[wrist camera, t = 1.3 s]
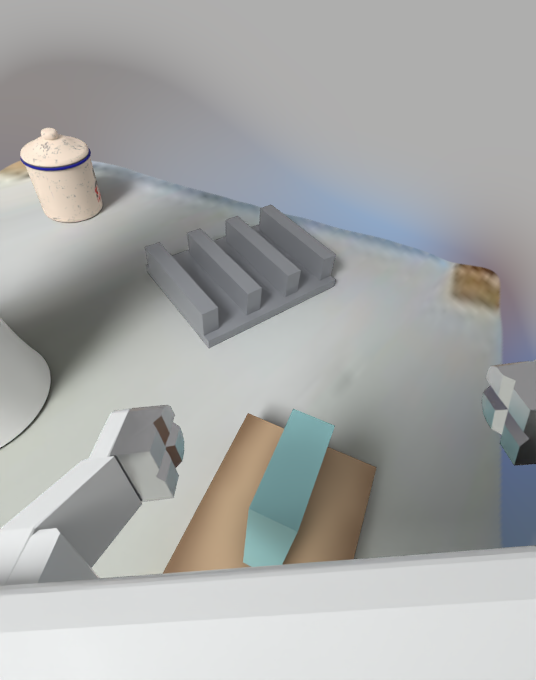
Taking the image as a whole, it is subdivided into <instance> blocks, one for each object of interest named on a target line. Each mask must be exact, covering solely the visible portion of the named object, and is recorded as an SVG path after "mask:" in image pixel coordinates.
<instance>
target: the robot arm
mask: <svg viewBox="0 0 536 680" xmlns="http://www.w3.org/2000/svg"><path fill="white" fill-rule="evenodd" d="M486 380H487V381H488V383H489V384H490V386H489V387H488V388H487V389H486V390H485V391H484V392H483V396H482V408H483V414H484V416H485V419H486V421H487V423H488V424H489V426H490V428H491V429H492V430H494V431H496V432H497V433H499V434H501V435H502V437H501V441H500V444H501V446H502V447H503V449H504V450H505V452H506V453H507V455H508V457H509V458H510V460H511V461H512V463H513V464H514V465H528V464H536V360H534V361H525V362H517V363H509V364H501V365H493V366H490V367H489V369H488V370H487V375H486ZM50 382H51V376H50V370H49V367H48V365H47V363H46V361H45V360H44V358H43V357H42V356H41V355H40V354H39V353H38V352H36V351H35V350H34V349H32V348H31V347H30V346H29V345H27V344H26V343H25V342H24V341H23V340H22V339H20V338H19V337H18V336H17V335H16V334H15V333H14V332H13V331H12V330H11V328H10V327H9V326H8V325H7V324H6V323H5V322H4V321H3V320H2V319H1V318H0V448H1V447H2V446H4V445H5V444H7V443H8V442H10V441H11V440H12V439H14V438H15V437H16V436H17V435H19V434H20V433H21V432H22V431H23V430H24V429H25V428H26V427H27V426H28V425H29V424H30V423H31V422H32V421H33V420H34V418H35V417H36V416H37V414H38V413H39V411H40V410H41V408H42V407H43V405H44V403H45V401H46V398H47V396H48V393H49V389H50ZM174 416H175V414H174V412H173V410H172V408H171V406H169V405H160V406H150V407H139V408H132V409H122V410H114V411H113V412H112V413H110V415H109V417H108V419H107V421H106V423H105V425H104V427H103V429H102V431H101V433H100V436H99V438H98V440H97V442H96V444H95V446H94V448H93V450H92V452H91V454H90V456H89V458H88V459H84V460H82V461H80V462H79V463H78V464H77V465H76V466H74V467H73V468H72V469H71V470H70V471H68V472H67V473H66V474H65V475H64V476H62V477H61V478H60V479H59V480H58V481H56V482H55V483H54V484H53V485H52V486H50V487H49V488H48V489H47V490H46V491H44V492H43V493H42V494H41V495H40V496H38V497H37V498H36V499H35V500H34V501H32V502H31V503H30V504H29V505H28V506H26V507H25V508H24V509H23V510H22V511H20V512H19V513H18V514H17V515H16V516H14V517H13V518H12V519H11V520H10V521H8V522H7V523H6V524H5V525H4V526H2V527H1V528H0V680H536V545H535V546H521V547H508V548H494V549H481V550H468V551H455V552H442V553H429V554H416V555H403V556H389V557H376V558H363V559H350V560H337V561H324V562H311V563H298V564H284V565H271V566H258V567H245V568H232V569H218V570H205V571H192V572H179V573H165V574H152V575H139V576H126V577H112V578H99V576H98V575H97V574H96V573H95V572H94V571H93V570H92V567H93V565H94V564H95V563H96V561H97V560H98V559H99V558H100V556H101V555H102V554H103V553H104V551H105V550H106V549H107V548H108V546H109V545H110V544H111V543H112V541H113V540H114V539H115V537H116V536H117V535H118V534H119V532H120V531H121V530H122V529H123V527H124V526H125V525H126V524H127V522H128V521H129V520H130V518H131V517H132V516H133V515H134V513H135V512H136V511H137V510H138V508H139V507H140V506H141V505H142V502H146V501H154V500H162V499H170V498H174V494H175V490H176V485H177V481H178V477H179V475H178V473H177V471H176V467H177V466H178V465H179V464H180V463H181V462H182V459H183V455H184V438H183V434H182V431H181V428H180V427H179V426H178V425H176V424H175V423H173V420H174Z"/></svg>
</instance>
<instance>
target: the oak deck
mask: <svg viewBox="0 0 536 680" xmlns="http://www.w3.org/2000/svg"><path fill="white" fill-rule="evenodd" d="M283 431H284V428H282V427H279V426H277V425H275V424H272V423H270V422H268V421H265V420H263V419H260V418H258V417H256V416H253V415H251V414H249V413H248V414H247V416H246V418H245V420H244V422H243V424H242V426H241V427H240V429H239V431H238V433H237V435H236V437H235V439H234V441H233V442H232V444H231V446H230V448H229V450H228V452H227V454H226V456H225V458H224V459H223V461H222V463H221V465H220V467H219V469H218V471H217V473H216V474H215V476H214V478H213V480H212V482H211V484H210V486H209V488H208V489H207V491H206V493H205V495H204V497H203V499H202V501H201V503H200V504H199V506H198V508H197V510H196V512H195V514H194V516H193V518H192V520H191V521H190V523H189V525H188V527H187V529H186V531H185V533H184V535H183V536H182V538H181V540H180V542H179V544H178V546H177V548H176V550H175V551H174V553H173V555H172V557H171V559H170V561H169V563H168V565H167V566H166V568H165V570H164V572H163V574H165V573H179V572H192V571H205V570H218V569H232V568H245V567H251V566H249V565H247V564H245V563H243V557H244V548H245V539H246V529H247V520H248V511H249V507H250V505H251V502H252V500H253V498H254V496H255V493H256V491H257V489H258V487H259V484H260V482H261V480H262V478H263V475H264V473H265V471H266V469H267V466H268V464H269V462H270V460H271V458H272V455H273V453H274V451H275V449H276V446H277V444H278V442H279V440H280V437H281V435H282V433H283ZM375 471H376V467H375V466H372V465H370V464H367V463H365V462H363V461H360V460H358V459H356V458H353V457H351V456H348V455H346V454H344V453H341V452H339V451H336V450H334V449H332V448H329V447H327V450H326V453H325V455H324V458H323V461H322V464H321V467H320V470H319V473H318V475H317V478H316V481H315V484H314V487H313V490H312V493H311V495H310V498H309V501H308V504H307V507H306V510H305V513H304V515H303V518H302V521H301V524H300V527H299V530H298V532H297V534H296V537H295V539H294V541H293V543H292V545H291V547H290V549H289V551H288V553H287V555H286V557H285V560H284V562H283V564H282V565H284V564H298V563H311V562H324V561H337V560H350V559H354V555H355V551H356V547H357V543H358V539H359V535H360V531H361V527H362V523H363V519H364V515H365V511H366V507H367V503H368V499H369V495H370V491H371V487H372V483H373V479H374V475H375Z"/></svg>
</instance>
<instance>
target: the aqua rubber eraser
mask: <svg viewBox="0 0 536 680" xmlns="http://www.w3.org/2000/svg"><path fill="white" fill-rule="evenodd" d="M334 427H335V426H334V425H332V424H329V423H327V422H324V421H322V420H319V419H317V418H315V417H312V416H310V415H307V414H305V413H302V412H300V411H297V410H295V409H293V410H292V413H291V415H290V417H289V419H288V422H287V424H286V426H285V428H284V431H283V433H282V435H281V437H280V440H279V442H278V444H277V446H276V449H275V451H274V453H273V455H272V458H271V460H270V462H269V464H268V466H267V469H266V471H265V473H264V475H263V478H262V480H261V482H260V484H259V487H258V489H257V491H256V493H255V496H254V498H253V500H252V502H251V505H250V507H249V511H248V520H247V529H246V539H245V548H244V557H243V563H245V564H247V565H249V566H251V567H258V566H271V565H282V564H283V562H284V560H285V557H286V555H287V553H288V551H289V549H290V547H291V545H292V543H293V541H294V539H295V537H296V534H297V532H298V530H299V527H300V524H301V521H302V518H303V515H304V513H305V510H306V507H307V504H308V501H309V498H310V495H311V493H312V490H313V487H314V484H315V481H316V478H317V475H318V473H319V470H320V467H321V464H322V461H323V458H324V455H325V453H326V450H327V447H328V444H329V441H330V438H331V435H332V433H333V430H334Z"/></svg>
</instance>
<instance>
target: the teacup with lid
mask: <svg viewBox="0 0 536 680" xmlns="http://www.w3.org/2000/svg"><path fill="white" fill-rule="evenodd" d="M41 135H42V136H41V137H39V138H37V139H36V140H33V141H31V142H29V143H27V144H26V145H25V146H24V147H23V148H22V150H21V154H20V155H21V156H20V157H21V161H22V162H23V164H25V166H26V168H27V171H28V173H29V176H30V178H31V181H32V183H33V186H34V188H35V191H36V193H37V195H38V198H39V200H40V203H41V205H42V208H43V210H44V212H45V214H46V215H47V216H48V217H49V218H51V219H53V220H55V221H59V222H79V221H83V220H86V219H89V218H91V217H93V216H95V215H96V214H97V213H98V212H99V211H100V210H101V208H102V205H103V203H102V199H101V195H100V192H99V188H98V184H97V181H96V177H95V173H94V170H93V166H92V162H91V159H90V153H91V152H90V149H89V148H88V146H87V145H86V144H85V143H84V142H83V141H81V140H79V139H77V138H73V137H68V136H63V135H59V134H57V131H56V130H55V129H52V128H45V129H43V130H42V131H41Z"/></svg>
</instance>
